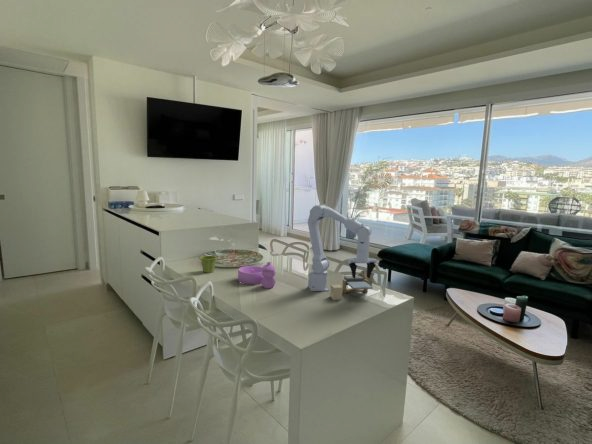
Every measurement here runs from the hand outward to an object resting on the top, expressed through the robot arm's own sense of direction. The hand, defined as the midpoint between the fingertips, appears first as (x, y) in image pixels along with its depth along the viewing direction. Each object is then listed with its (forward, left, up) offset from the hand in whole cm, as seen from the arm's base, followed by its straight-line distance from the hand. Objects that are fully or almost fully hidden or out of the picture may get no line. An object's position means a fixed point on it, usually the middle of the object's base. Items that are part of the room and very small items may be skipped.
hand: (361, 277), depth 160 cm
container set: (-49, +26, -10) cm, 56 cm away
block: (-13, 0, -10) cm, 16 cm away
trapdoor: (0, +4, -6) cm, 7 cm away
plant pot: (-76, +48, -10) cm, 91 cm away
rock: (+11, +17, -10) cm, 22 cm away
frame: (0, +8, -10) cm, 13 cm away
